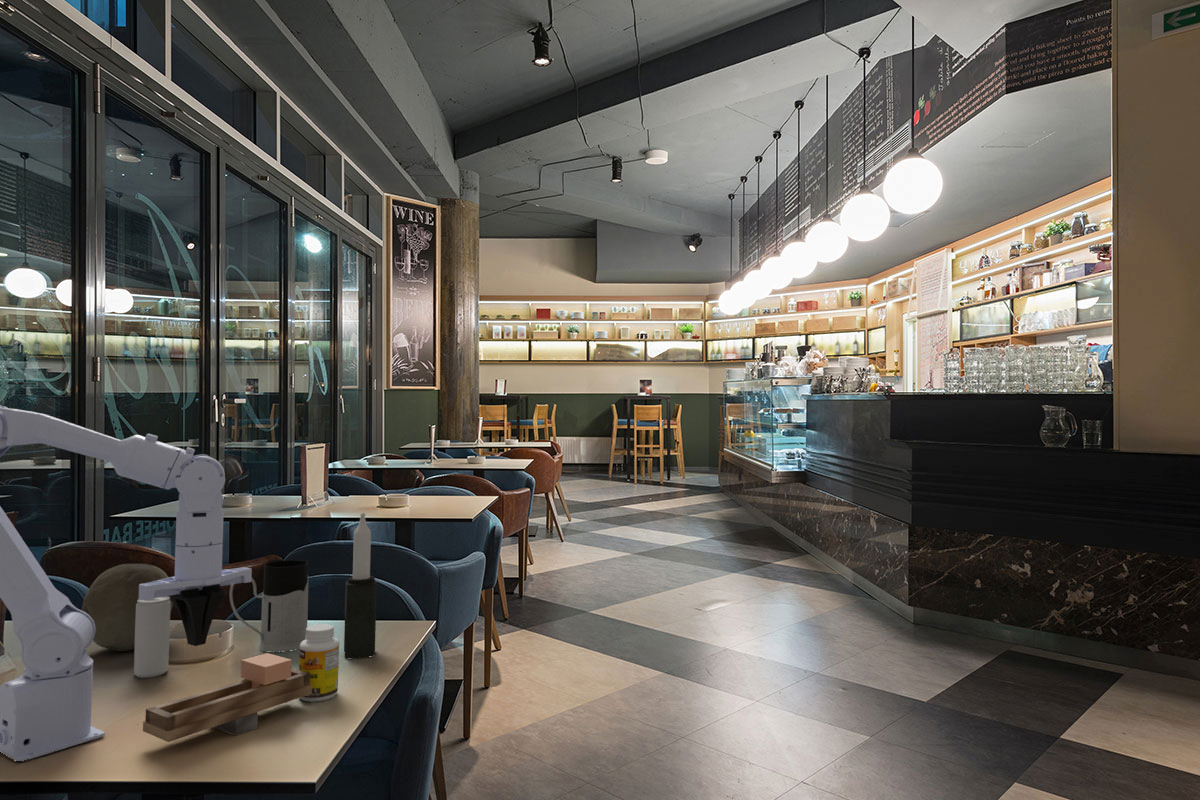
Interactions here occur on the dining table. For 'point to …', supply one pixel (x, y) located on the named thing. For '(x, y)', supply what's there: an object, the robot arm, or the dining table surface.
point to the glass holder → (282, 605)
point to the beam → (223, 707)
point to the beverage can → (152, 637)
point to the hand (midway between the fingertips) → (196, 643)
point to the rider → (265, 669)
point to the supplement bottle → (320, 661)
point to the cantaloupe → (118, 603)
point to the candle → (360, 598)
